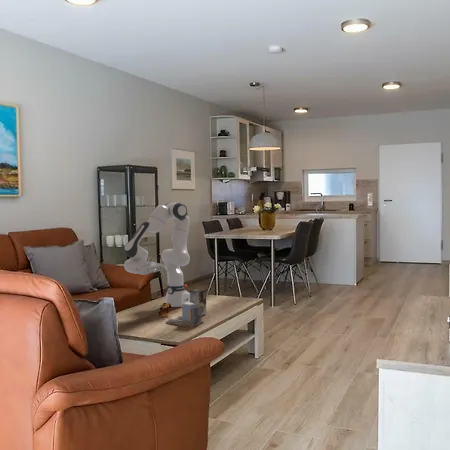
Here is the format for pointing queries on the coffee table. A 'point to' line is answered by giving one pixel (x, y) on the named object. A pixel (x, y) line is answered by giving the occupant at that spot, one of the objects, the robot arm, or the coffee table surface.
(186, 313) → the block
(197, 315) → the rail dock
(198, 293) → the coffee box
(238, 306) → the coffee table surface
